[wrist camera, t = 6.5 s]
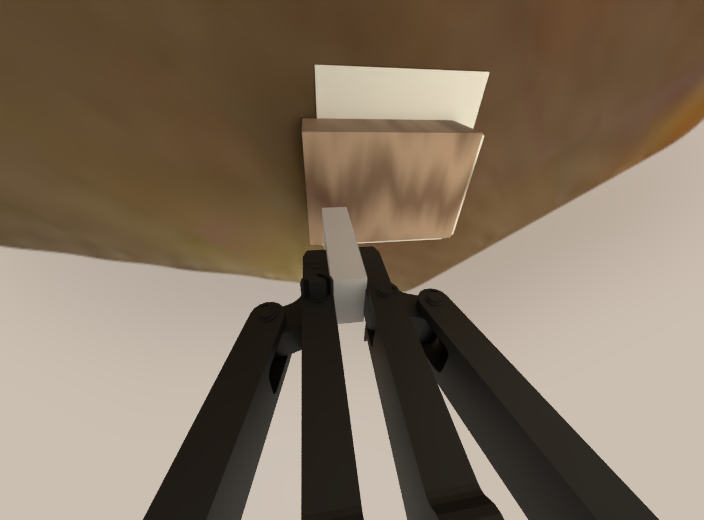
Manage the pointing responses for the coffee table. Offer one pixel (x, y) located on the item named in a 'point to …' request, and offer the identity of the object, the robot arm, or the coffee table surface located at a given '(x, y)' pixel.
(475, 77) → the felt mat
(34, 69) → the coffee table surface
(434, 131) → the wooden block
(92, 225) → the coffee table surface
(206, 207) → the coffee table surface
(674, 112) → the coffee table surface
